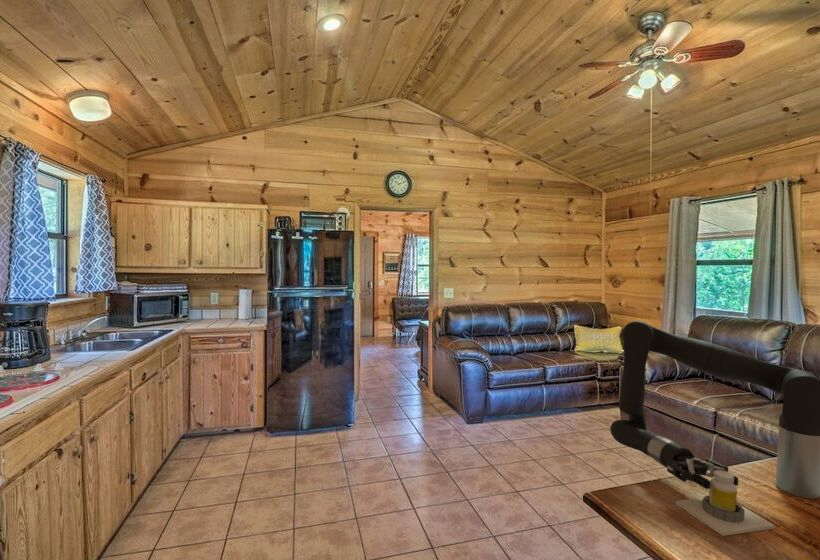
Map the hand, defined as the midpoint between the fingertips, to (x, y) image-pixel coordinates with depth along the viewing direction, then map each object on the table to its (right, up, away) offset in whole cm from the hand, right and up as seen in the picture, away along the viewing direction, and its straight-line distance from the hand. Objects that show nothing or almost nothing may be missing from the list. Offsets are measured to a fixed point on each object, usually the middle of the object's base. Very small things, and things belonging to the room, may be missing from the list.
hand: (723, 483), depth 104 cm
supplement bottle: (0, -7, 0) cm, 7 cm away
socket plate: (0, -8, 0) cm, 8 cm away
